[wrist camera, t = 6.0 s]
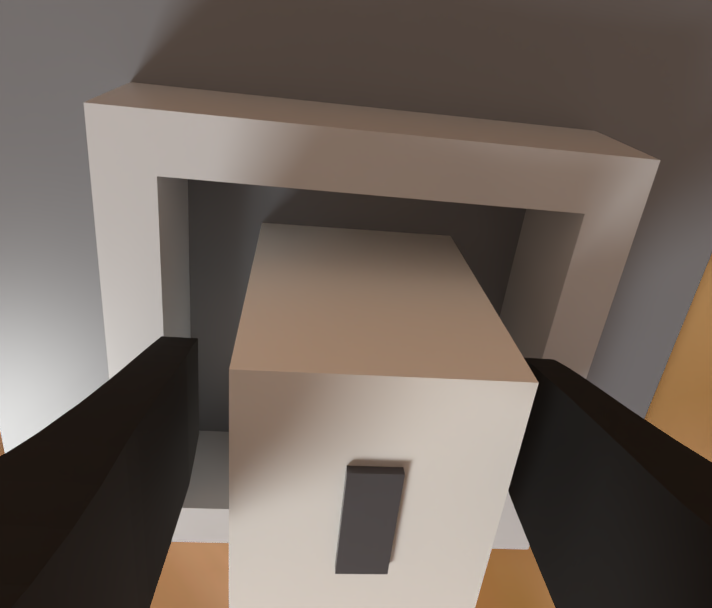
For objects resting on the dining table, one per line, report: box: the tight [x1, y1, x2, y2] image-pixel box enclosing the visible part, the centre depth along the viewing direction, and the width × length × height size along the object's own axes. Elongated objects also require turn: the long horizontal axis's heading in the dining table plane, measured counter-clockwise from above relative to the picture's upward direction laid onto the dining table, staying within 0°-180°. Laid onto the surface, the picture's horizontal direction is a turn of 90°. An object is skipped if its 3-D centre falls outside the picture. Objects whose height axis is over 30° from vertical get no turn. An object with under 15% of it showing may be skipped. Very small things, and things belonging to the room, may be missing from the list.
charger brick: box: [229, 223, 539, 608], centre depth 11 cm, size 4×5×6 cm
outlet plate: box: [0, 0, 712, 549], centre depth 13 cm, size 16×14×4 cm
